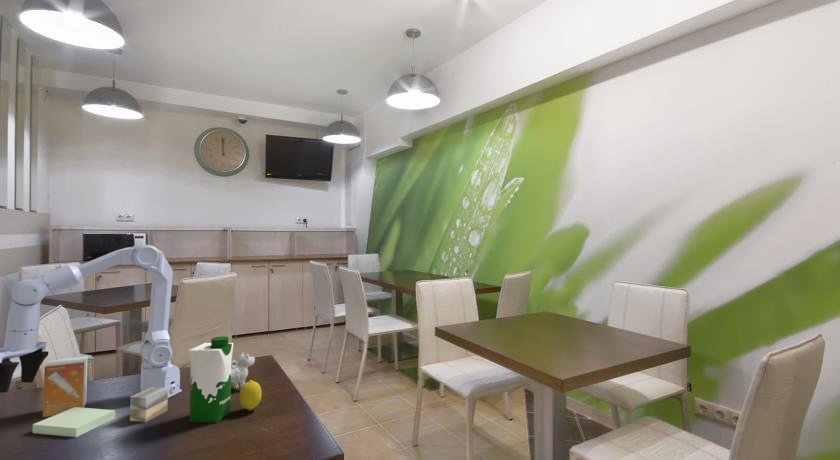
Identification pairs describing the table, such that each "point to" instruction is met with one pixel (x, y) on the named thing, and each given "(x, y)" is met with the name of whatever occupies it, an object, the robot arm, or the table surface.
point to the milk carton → (210, 380)
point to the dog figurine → (240, 369)
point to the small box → (64, 385)
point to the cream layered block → (148, 404)
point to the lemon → (250, 395)
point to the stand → (74, 422)
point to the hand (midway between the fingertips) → (14, 386)
